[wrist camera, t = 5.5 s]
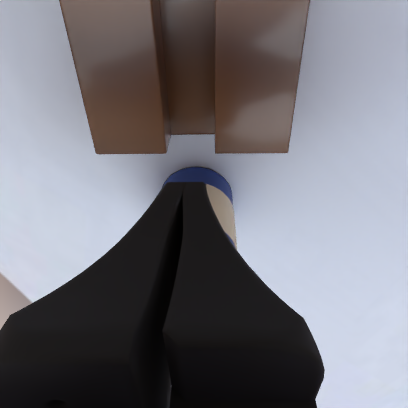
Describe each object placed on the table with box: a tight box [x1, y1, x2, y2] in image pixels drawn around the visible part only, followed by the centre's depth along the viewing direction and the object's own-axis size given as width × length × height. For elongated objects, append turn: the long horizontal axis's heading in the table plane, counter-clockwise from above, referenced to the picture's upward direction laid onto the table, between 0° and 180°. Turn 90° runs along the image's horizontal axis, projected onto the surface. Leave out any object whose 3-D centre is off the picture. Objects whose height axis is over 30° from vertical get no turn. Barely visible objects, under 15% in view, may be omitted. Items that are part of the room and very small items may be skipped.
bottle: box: [162, 167, 237, 250], centre depth 16 cm, size 8×4×9 cm
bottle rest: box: [59, 0, 310, 154], centre depth 13 cm, size 7×8×3 cm
